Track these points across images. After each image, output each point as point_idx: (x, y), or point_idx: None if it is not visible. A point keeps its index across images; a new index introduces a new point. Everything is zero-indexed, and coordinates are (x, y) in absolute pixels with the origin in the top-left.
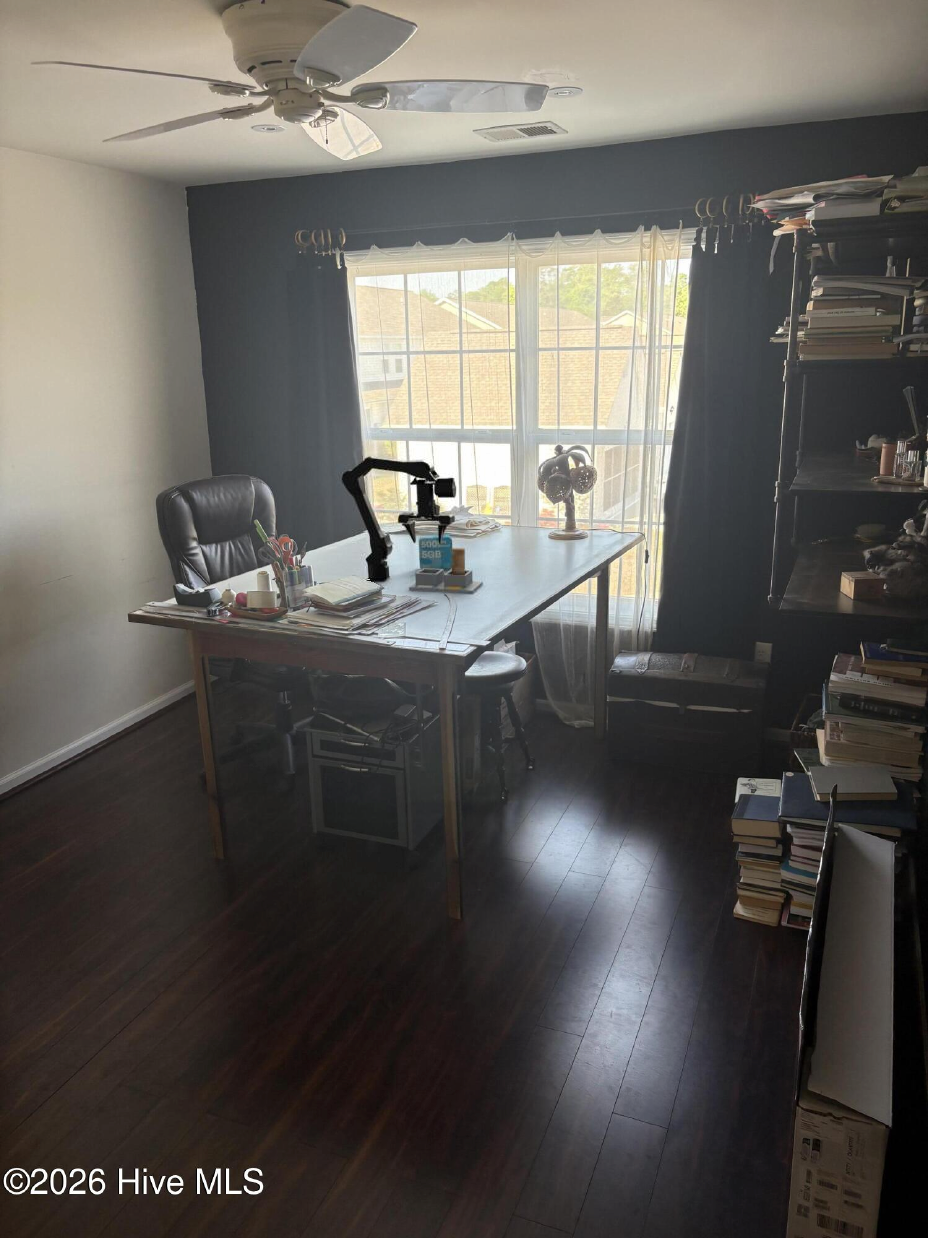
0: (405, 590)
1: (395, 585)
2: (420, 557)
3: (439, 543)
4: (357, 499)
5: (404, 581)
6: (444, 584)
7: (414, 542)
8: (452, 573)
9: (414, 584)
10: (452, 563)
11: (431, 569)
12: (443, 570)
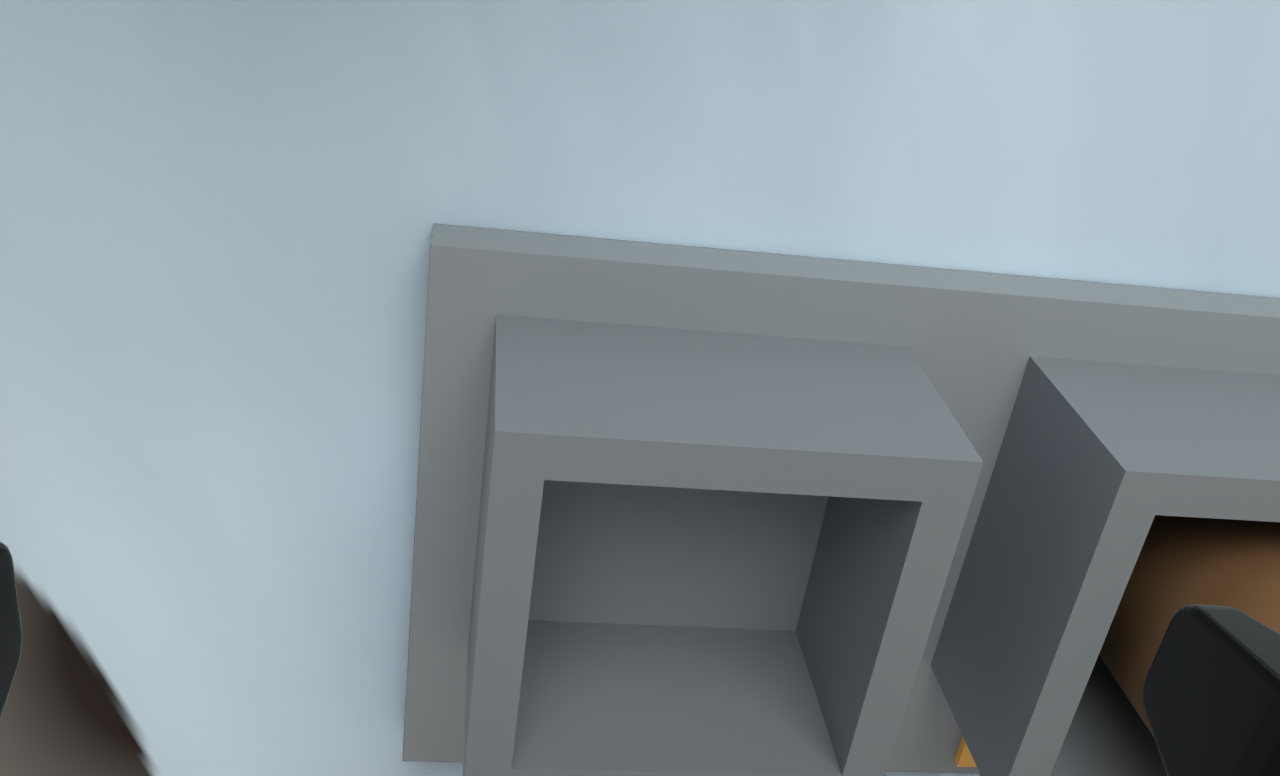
0: (353, 740)
1: (58, 521)
2: None
3: (1162, 715)
4: None
5: (91, 248)
6: (947, 688)
7: (9, 682)
8: (1149, 730)
9: (434, 620)
10: None
11: (709, 485)
12: (966, 484)
